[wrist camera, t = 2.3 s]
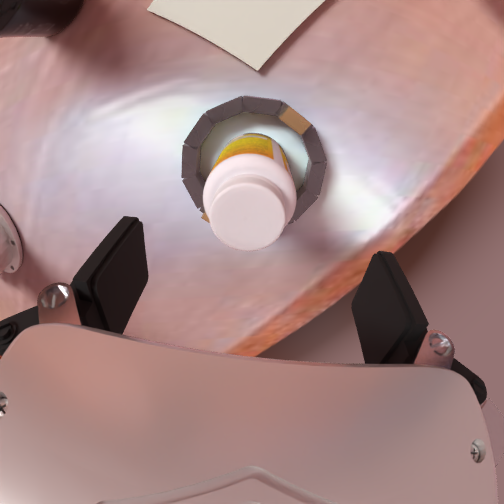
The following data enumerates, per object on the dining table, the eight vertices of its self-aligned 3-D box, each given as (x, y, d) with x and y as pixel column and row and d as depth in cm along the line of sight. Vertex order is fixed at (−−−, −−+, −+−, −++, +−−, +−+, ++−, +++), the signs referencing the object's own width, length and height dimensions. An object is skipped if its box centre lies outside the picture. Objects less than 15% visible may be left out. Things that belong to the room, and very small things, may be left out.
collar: (264, 244, 27) (264, 258, 25) (163, 177, 23) (154, 187, 21) (347, 155, 22) (355, 163, 20) (239, 70, 18) (236, 68, 16)
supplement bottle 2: (206, 164, 23) (172, 219, 14) (252, 117, 20) (245, 143, 12) (253, 205, 25) (248, 279, 16) (300, 164, 22) (323, 221, 14)
